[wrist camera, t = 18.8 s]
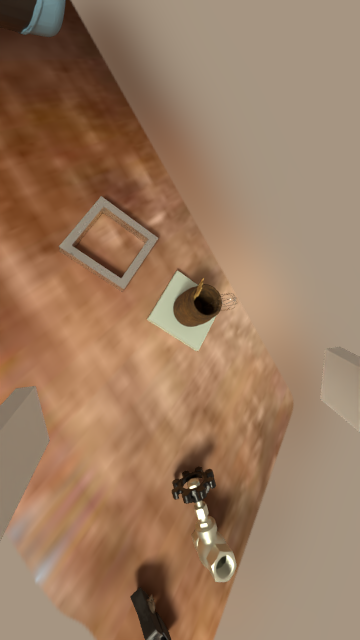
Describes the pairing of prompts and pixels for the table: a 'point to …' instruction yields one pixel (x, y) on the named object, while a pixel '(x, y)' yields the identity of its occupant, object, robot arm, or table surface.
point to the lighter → (149, 617)
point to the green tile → (168, 322)
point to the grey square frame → (93, 266)
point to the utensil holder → (198, 305)
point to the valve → (206, 525)
